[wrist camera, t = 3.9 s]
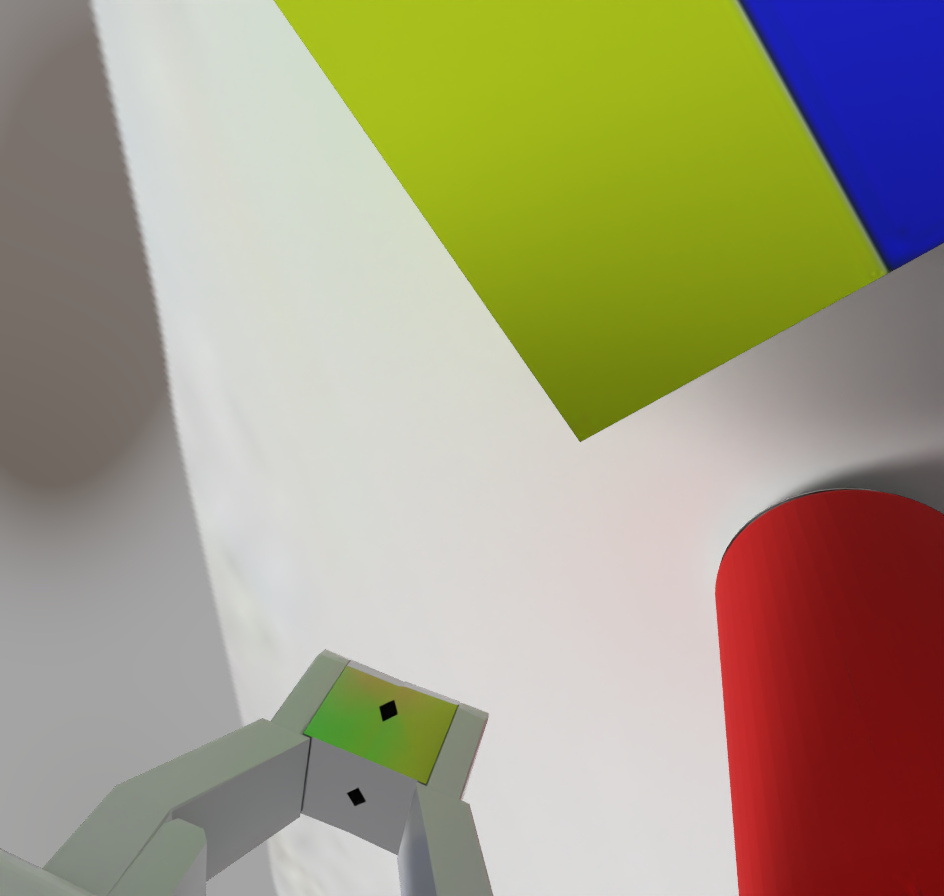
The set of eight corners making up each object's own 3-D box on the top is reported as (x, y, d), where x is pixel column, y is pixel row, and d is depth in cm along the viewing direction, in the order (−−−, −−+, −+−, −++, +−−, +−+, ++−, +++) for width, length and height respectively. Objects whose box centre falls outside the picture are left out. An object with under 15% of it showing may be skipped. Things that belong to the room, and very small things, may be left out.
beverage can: (711, 471, 17) (758, 957, 7) (989, 466, 15) (1635, 1132, 5) (714, 653, 20) (753, 1226, 9) (957, 669, 18) (1354, 1418, 7)
